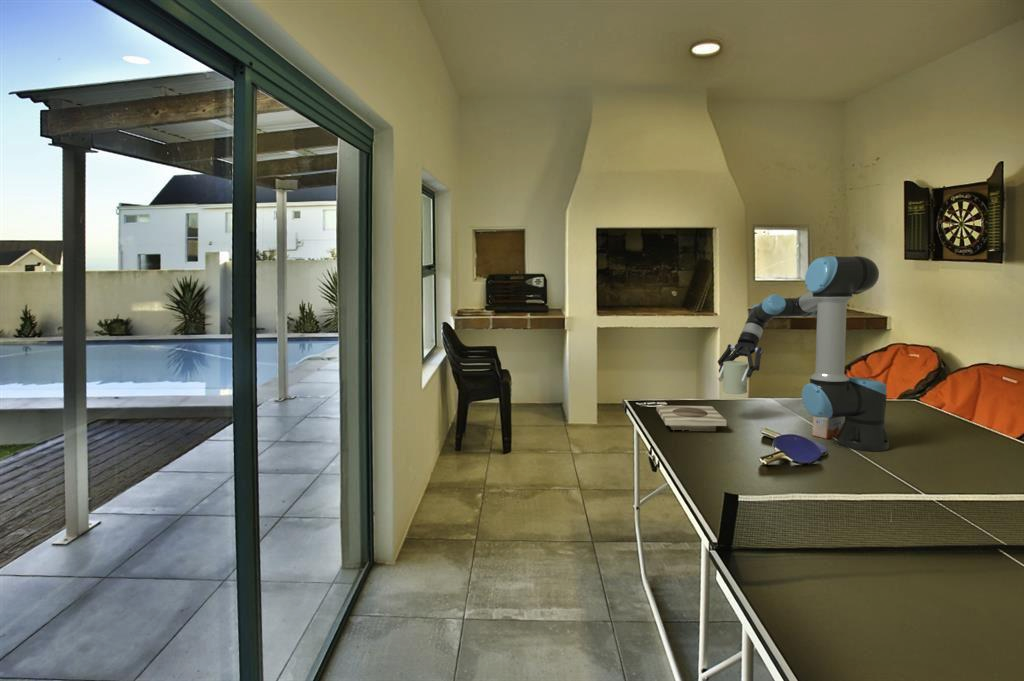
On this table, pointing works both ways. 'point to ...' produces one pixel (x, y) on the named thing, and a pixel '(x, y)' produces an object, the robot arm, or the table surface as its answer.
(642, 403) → the table surface
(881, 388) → the robot arm
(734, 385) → the can
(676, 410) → the stand
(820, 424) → the cracker box
